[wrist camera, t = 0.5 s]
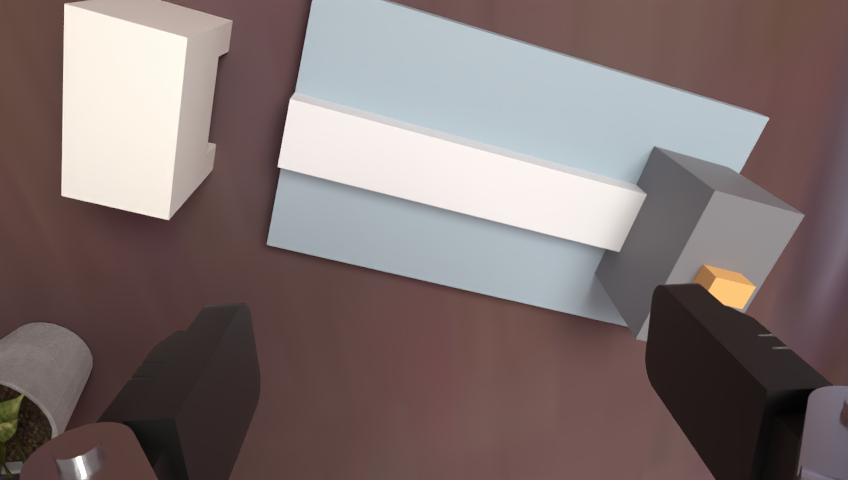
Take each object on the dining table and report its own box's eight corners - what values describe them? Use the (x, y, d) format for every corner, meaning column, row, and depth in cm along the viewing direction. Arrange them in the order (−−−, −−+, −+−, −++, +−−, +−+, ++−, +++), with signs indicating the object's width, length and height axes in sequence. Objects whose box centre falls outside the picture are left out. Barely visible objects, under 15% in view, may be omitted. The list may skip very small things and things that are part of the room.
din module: (138, -6, 28) (64, 3, 22) (232, 21, 28) (187, 37, 22) (127, 149, 31) (61, 195, 25) (212, 169, 32) (168, 220, 26)
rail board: (319, -21, 28) (287, -12, 19) (753, 111, 31) (880, 165, 23) (271, 233, 33) (230, 323, 25) (643, 318, 37) (713, 421, 29)
